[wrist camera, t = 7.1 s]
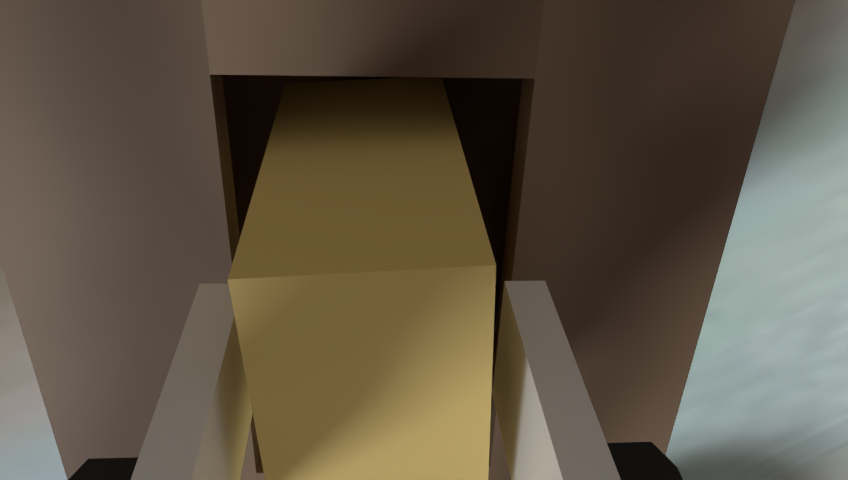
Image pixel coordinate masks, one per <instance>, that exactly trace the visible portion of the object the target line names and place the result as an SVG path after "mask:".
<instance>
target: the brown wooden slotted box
mask: <svg viewBox="0 0 848 480" xmlns="http://www.w3.org/2000/svg"><path fill="white" fill-rule="evenodd" d="M794 1H795V0H0V260H1V263H2V266H3V270H4V273H5V276H6V280H7V283H8V286H9V289H10V293H11V296H12V299H13V302H14V306H15V309H16V312H17V316H18V319H19V322H20V325H21V329H22V332H23V335H24V338H25V342H26V345H27V348H28V351H29V355H30V358H31V361H32V365H33V368H34V371H35V374H36V378H37V381H38V384H39V387H40V391H41V394H42V397H43V401H44V404H45V407H46V410H47V414H48V417H49V420H50V423H51V427H52V430H53V433H54V437H55V440H56V443H57V446H58V450H59V453H60V456H61V459H62V463H63V466H64V469H65V473H66V476H67V479H69V478H70V477H71V476H72V475H73V474H74V473H75V472H76V471H77V470H78V469H79V468H80V467H81V466H82V465H83V464H84V463H85V461H86V460H87V459H95V458H132V457H139V454H140V451H141V449H142V446H143V443H144V440H145V437H146V434H147V432H148V429H149V426H150V423H151V420H152V417H153V415H154V412H155V409H156V406H157V403H158V400H159V397H160V395H161V392H162V389H163V386H164V383H165V380H166V378H167V375H168V372H169V369H170V366H171V363H172V360H173V358H174V355H175V352H176V349H177V346H178V343H179V341H180V338H181V335H182V332H183V329H184V326H185V324H186V321H187V318H188V315H189V312H190V309H191V306H192V304H193V301H194V298H195V295H196V292H197V289H198V287H199V284H212V283H228V277H229V273H230V270H231V266H232V263H233V260H234V256H235V253H236V249H237V246H238V243H239V239H240V236H241V232H242V229H243V226H244V222H245V219H246V215H247V212H248V209H249V205H250V202H251V198H252V195H253V192H254V188H255V185H256V181H257V178H258V175H259V171H260V168H261V164H262V161H263V158H264V154H265V151H266V147H267V144H268V141H269V137H270V134H271V130H272V127H273V124H274V120H275V117H276V113H277V110H278V107H279V103H280V100H281V96H282V93H283V90H284V86H285V83H289V82H313V81H338V80H363V79H387V78H412V77H442V80H443V84H444V87H445V91H446V94H447V98H448V101H449V104H450V108H451V111H452V115H453V118H454V122H455V125H456V129H457V132H458V135H459V139H460V142H461V146H462V149H463V153H464V156H465V159H466V163H467V166H468V170H469V173H470V177H471V180H472V184H473V187H474V190H475V194H476V197H477V201H478V204H479V208H480V211H481V214H482V218H483V221H484V225H485V228H486V232H487V235H488V239H489V242H490V245H491V249H492V252H493V256H494V259H495V263H496V285H495V312H494V339H493V366H492V390H493V381H494V372H495V363H496V354H497V345H498V335H499V326H500V317H501V308H502V299H503V290H504V281H545V282H546V284H547V287H548V290H549V292H550V295H551V298H552V300H553V303H554V305H555V308H556V311H557V313H558V316H559V319H560V321H561V324H562V326H563V329H564V332H565V334H566V337H567V340H568V342H569V345H570V347H571V350H572V353H573V355H574V358H575V361H576V363H577V366H578V368H579V371H580V374H581V376H582V379H583V382H584V384H585V387H586V389H587V392H588V395H589V397H590V400H591V403H592V405H593V408H594V411H595V413H596V416H597V418H598V421H599V424H600V426H601V429H602V432H603V434H604V437H605V439H606V442H607V443H622V442H652V443H653V444H654V445H655V446H656V447H657V448H658V449H659V450H660V451H661V452H662V453H663V454H664V455H665V454H666V451H667V447H668V444H669V440H670V437H671V433H672V430H673V426H674V423H675V419H676V416H677V412H678V409H679V405H680V402H681V398H682V395H683V391H684V388H685V384H686V380H687V377H688V373H689V370H690V366H691V363H692V359H693V356H694V352H695V349H696V345H697V342H698V338H699V335H700V331H701V328H702V324H703V321H704V317H705V314H706V310H707V307H708V303H709V300H710V296H711V293H712V289H713V286H714V282H715V279H716V275H717V272H718V268H719V265H720V261H721V258H722V254H723V250H724V247H725V243H726V240H727V236H728V233H729V229H730V226H731V222H732V219H733V215H734V212H735V208H736V205H737V201H738V198H739V194H740V191H741V187H742V184H743V180H744V177H745V173H746V170H747V166H748V163H749V159H750V156H751V152H752V149H753V145H754V142H755V138H756V135H757V131H758V128H759V124H760V120H761V117H762V113H763V110H764V106H765V103H766V99H767V96H768V92H769V89H770V85H771V82H772V78H773V75H774V71H775V68H776V64H777V61H778V57H779V54H780V50H781V47H782V43H783V40H784V36H785V33H786V29H787V26H788V22H789V19H790V15H791V12H792V8H793V5H794ZM240 480H265V477H264V472H263V466H262V461H261V456H260V450H259V445H258V440H257V434H256V429H255V424H254V418H253V413H252V418H251V424H250V429H249V434H248V440H247V445H246V450H245V456H244V461H243V466H242V471H241V477H240ZM488 480H511V478H510V473H509V468H508V464H507V459H506V454H505V450H504V445H503V441H502V436H501V431H500V427H499V422H498V418H497V413H496V408H495V404H494V399H493V394H492V393H491V420H490V447H489V474H488Z"/></svg>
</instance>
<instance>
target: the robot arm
mask: <svg viewBox="0 0 848 480" xmlns="http://www.w3.org/2000/svg"><path fill="white" fill-rule="evenodd" d="M492 394H493V399H494V404H495V408H496V413H497V418H498V422H499V427H500V431H501V436H502V441H503V445H504V450H505V454H506V459H507V464H508V468H509V473H510V478H511V480H683V479H682V477H681V475H680V473H679V471H678V468H677V467H676V466H675V465H674V464H673V463H672V462H671V461H670V460H669V459H668V458H667V457H666V456H665V455H664V454H663V453H662V452H661V451H660V450H659V449H658V448H657V447H656V446H655V445H654V444H653V443H652V442H622V443H607V442H606V439H605V437H604V434H603V432H602V429H601V426H600V424H599V421H598V418H597V416H596V413H595V411H594V408H593V405H592V403H591V400H590V397H589V395H588V392H587V389H586V387H585V384H584V382H583V379H582V376H581V374H580V371H579V368H578V366H577V363H576V361H575V358H574V355H573V353H572V350H571V347H570V345H569V342H568V340H567V337H566V334H565V332H564V329H563V326H562V324H561V321H560V319H559V316H558V313H557V311H556V308H555V305H554V303H553V300H552V298H551V295H550V292H549V290H548V287H547V284H546V282H545V281H504V290H503V299H502V308H501V317H500V326H499V335H498V345H497V354H496V363H495V372H494V381H493V390H492ZM251 418H252V408H251V402H250V397H249V391H248V386H247V381H246V375H245V370H244V365H243V359H242V354H241V349H240V343H239V338H238V333H237V327H236V322H235V316H234V311H233V306H232V300H231V295H230V290H229V284H228V283H212V284H199V287H198V289H197V292H196V295H195V298H194V301H193V304H192V306H191V309H190V312H189V315H188V318H187V321H186V324H185V326H184V329H183V332H182V335H181V338H180V341H179V343H178V346H177V349H176V352H175V355H174V358H173V360H172V363H171V366H170V369H169V372H168V375H167V378H166V380H165V383H164V386H163V389H162V392H161V395H160V397H159V400H158V403H157V406H156V409H155V412H154V415H153V417H152V420H151V423H150V426H149V429H148V432H147V434H146V437H145V440H144V443H143V446H142V449H141V451H140V454H139V457H132V458H95V459H87V460H86V461H85V463H84V464H83V465H82V466H81V467H80V468H79V469H78V470H77V471H76V472H75V473H74V474H73V475H72V476H71V477H70V478H69V479H68V480H240V477H241V471H242V466H243V461H244V456H245V450H246V445H247V440H248V434H249V429H250V424H251Z"/></svg>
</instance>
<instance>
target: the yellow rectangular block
mask: <svg viewBox="0 0 848 480" xmlns="http://www.w3.org/2000/svg"><path fill="white" fill-rule="evenodd" d="M228 284H229V290H230V295H231V300H232V306H233V311H234V316H235V322H236V327H237V333H238V338H239V343H240V349H241V354H242V359H243V365H244V370H245V375H246V381H247V386H248V391H249V397H250V402H251V408H252V413H253V418H254V424H255V429H256V434H257V440H258V445H259V450H260V456H261V461H262V466H263V472H264V477H265V480H488V474H489V447H490V420H491V393H492V366H493V339H494V312H495V285H496V263H495V259H494V256H493V252H492V249H491V245H490V242H489V239H488V235H487V232H486V228H485V225H484V221H483V218H482V214H481V211H480V208H479V204H478V201H477V197H476V194H475V190H474V187H473V184H472V180H471V177H470V173H469V170H468V166H467V163H466V159H465V156H464V153H463V149H462V146H461V142H460V139H459V135H458V132H457V129H456V125H455V122H454V118H453V115H452V111H451V108H450V104H449V101H448V98H447V94H446V91H445V87H444V84H443V80H442V77H412V78H387V79H363V80H338V81H313V82H289V83H285V86H284V90H283V93H282V96H281V100H280V103H279V107H278V110H277V113H276V117H275V120H274V124H273V127H272V130H271V134H270V137H269V141H268V144H267V147H266V151H265V154H264V158H263V161H262V164H261V168H260V171H259V175H258V178H257V181H256V185H255V188H254V192H253V195H252V198H251V202H250V205H249V209H248V212H247V215H246V219H245V222H244V226H243V229H242V232H241V236H240V239H239V243H238V246H237V249H236V253H235V256H234V260H233V263H232V266H231V270H230V273H229V277H228Z"/></svg>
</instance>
